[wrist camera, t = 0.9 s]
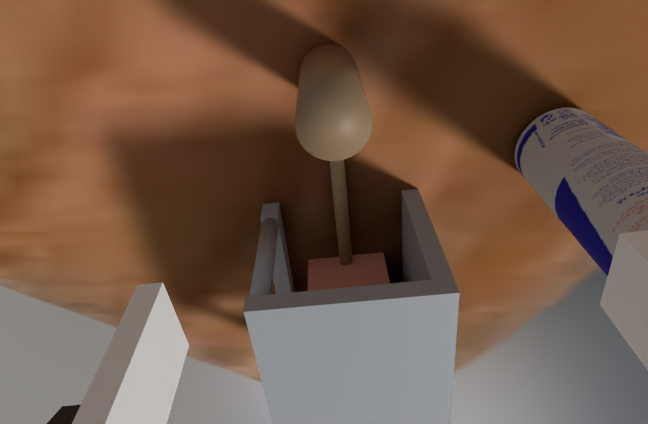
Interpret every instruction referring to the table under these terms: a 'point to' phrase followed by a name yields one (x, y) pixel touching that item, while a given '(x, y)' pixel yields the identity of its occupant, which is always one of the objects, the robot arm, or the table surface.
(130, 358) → the robot arm
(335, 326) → the box
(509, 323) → the table surface
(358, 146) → the block
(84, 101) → the table surface
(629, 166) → the beverage can
